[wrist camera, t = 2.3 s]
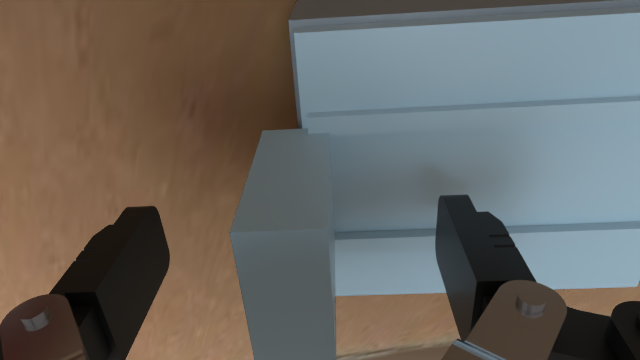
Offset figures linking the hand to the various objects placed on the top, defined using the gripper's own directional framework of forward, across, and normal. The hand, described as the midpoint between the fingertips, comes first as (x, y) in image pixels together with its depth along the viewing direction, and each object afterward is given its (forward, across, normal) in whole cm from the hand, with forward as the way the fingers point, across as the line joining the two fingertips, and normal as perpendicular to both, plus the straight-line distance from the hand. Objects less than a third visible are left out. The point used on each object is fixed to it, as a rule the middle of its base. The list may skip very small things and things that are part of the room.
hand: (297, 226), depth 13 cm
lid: (+3, -6, 0) cm, 7 cm away
